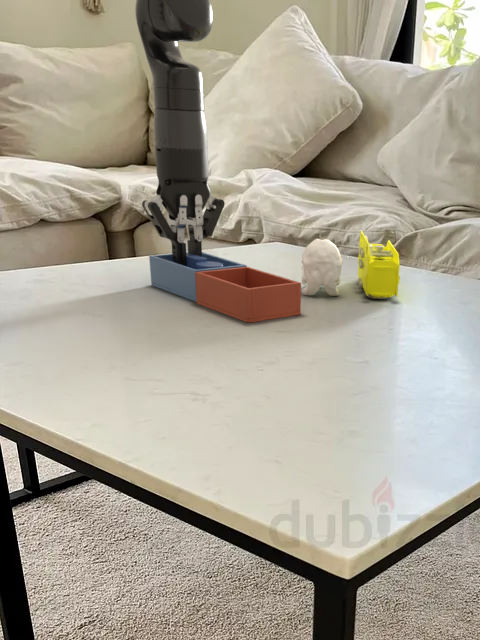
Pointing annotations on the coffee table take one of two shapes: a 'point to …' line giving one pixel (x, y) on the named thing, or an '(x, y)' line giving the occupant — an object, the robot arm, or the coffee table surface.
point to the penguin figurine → (321, 267)
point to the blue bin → (181, 274)
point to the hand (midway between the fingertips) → (187, 265)
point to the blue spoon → (200, 262)
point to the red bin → (248, 294)
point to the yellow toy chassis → (378, 269)
